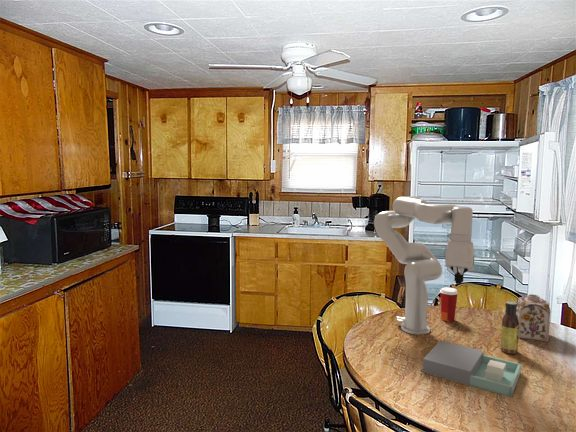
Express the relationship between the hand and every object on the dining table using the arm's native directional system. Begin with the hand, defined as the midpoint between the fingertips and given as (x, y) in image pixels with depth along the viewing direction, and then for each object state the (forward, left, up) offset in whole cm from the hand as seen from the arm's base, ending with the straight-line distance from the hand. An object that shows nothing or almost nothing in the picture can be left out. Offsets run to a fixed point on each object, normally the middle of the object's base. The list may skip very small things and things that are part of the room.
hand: (458, 283), depth 170 cm
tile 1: (+18, -18, -22) cm, 34 cm away
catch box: (+18, -18, -27) cm, 37 cm away
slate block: (+4, -18, -27) cm, 33 cm away
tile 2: (+18, -18, -24) cm, 35 cm away
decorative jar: (+23, +34, -27) cm, 49 cm away
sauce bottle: (+18, +10, -27) cm, 34 cm away
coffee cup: (-12, +32, -27) cm, 44 cm away
